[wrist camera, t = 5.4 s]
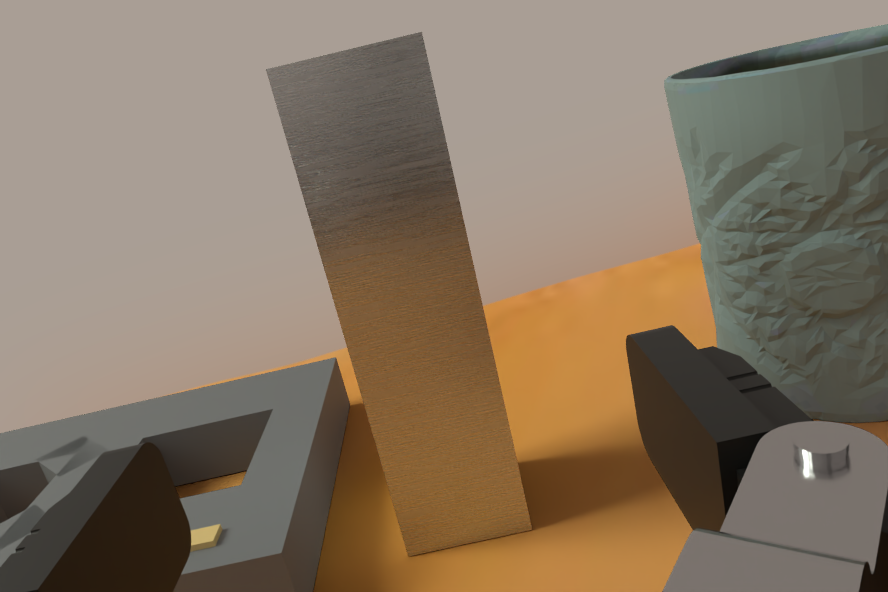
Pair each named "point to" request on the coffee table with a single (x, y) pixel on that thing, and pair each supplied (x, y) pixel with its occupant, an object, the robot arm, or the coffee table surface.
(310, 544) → the socket board
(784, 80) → the green embossed pot
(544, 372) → the coffee table surface
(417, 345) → the square bit
